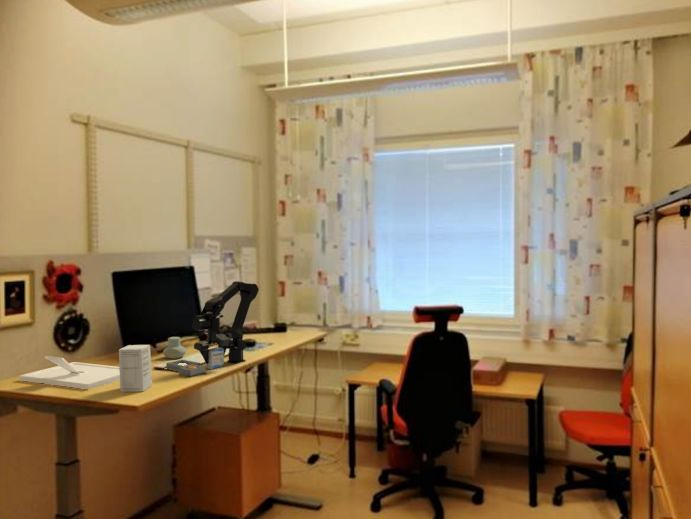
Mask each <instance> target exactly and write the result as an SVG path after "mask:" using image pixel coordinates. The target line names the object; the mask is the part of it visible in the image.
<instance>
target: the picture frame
mask: <svg viewBox="0 0 691 519" xmlns="http://www.w3.org/2000/svg"><path fill="white" fill-rule="evenodd" d="M44 359H46V360H48V361H49V362H51V363H53V364H56V366H52V367H48V368H44V369H41V370H40V369H39V370H35V371H32V372H28V373H24V374H20V375H19V382H22V381H30V382H38V383H45V384H52V385H51V386H53V385H60V386H67V387H66V388H68V387H75V388H83V389H91V388H94V387H97V386H100V387H102V386H101V385H103V386H105V385H104V384H107V385H109V384H108V383H110V384H113V383H116V382H120V381H119V380H120V370H119V366H116V365H106V364H96V363H95V364H94V363H88V362H87V363H86V362H79V361H73V362H68V361H67V360H66V359H65V358H64V357H62V356H52V355H45V356H44ZM30 382H29V383H30ZM112 382H113V383H112ZM45 384H44V385H45ZM60 386H59V387H60ZM75 388H74V389H75ZM97 388H98V387H97ZM83 389H82V390H83ZM94 389H95V388H94ZM91 390H92V389H91Z"/></svg>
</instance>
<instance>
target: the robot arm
mask: <svg viewBox="0 0 691 519" xmlns="http://www.w3.org/2000/svg"><path fill="white" fill-rule="evenodd" d="M238 293H239V297H240V302H239V304H238V308H237V311H236V313H235V316H234V319H233V322H232V325H231V327H230V328H226V329H225V333H224V334H223V330H222V329H221V318H223V317H224V315H223V314H222V313H221V312H222V311H223V309H225V305H226V304H227V303H228V302H229V301H230V300H231V299H233V297H234V296H236V295H237V294H238ZM258 293H259V287H258V285H257V284H256V283H247V282H243V281H240V280H239V281H238V280H235V281H233V282H232V284H230V285H229V286H228V287H226V289H224V290H223V291H222V292H221V293H219V295H217V296H215V297H212V298H210V299H208V300H206V301H205V303H204V306H203V308H202V310H201V312H200V314H199V315H195V317H194V318H193V320H192V323H191V327H192V329H193V331H195V332H201V331H205V334H206V335H207V337H206V339H205V341H196V342H195V343H194V345H193V349H194V350H197V351H199V353H200V354H201V356H202V358H203V360H204V363H205V362H206V364H208V362H209V354H208V353H209V351H210V349H211V348H210V347H212V346H217V347H221V348H224V356H225V354H226V351H227V349H228V360H226V362H228V363H233V364H238V363H242V362H246V359H244V350H246V349H247V346H248V345H247V343H246V342H245V341H244V339H243V338H244V334H243V327H244V324H245V321H246V319H247V315H248V311H249V309H250V306H251V303H252V302H253V301H254V300H255V299H256V297H257V295H258Z"/></svg>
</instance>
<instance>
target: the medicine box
mask: <svg viewBox="0 0 691 519" xmlns="http://www.w3.org/2000/svg"><path fill="white" fill-rule="evenodd" d="M209 349H210V351H209V353H208V354H209V362H208V364H206V362H205V361H204V367H206V370H215V369H219V368H222V367H224V366H225V355H224V348H221V347H218V346H217V347H213V348H209Z"/></svg>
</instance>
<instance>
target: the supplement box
mask: <svg viewBox="0 0 691 519" xmlns="http://www.w3.org/2000/svg"><path fill="white" fill-rule="evenodd" d="M151 356H152V355H151V345H150V344H133V345H132V344H128V345H126V346H124V347H122V348H120V349H118V360H119V361H118V364H119V365H118V367H119V370H120V381H119V388H120V389H119V391H120V392H121V393H123V392H125V393H126V392H127V393H129V392H130V393H131V392H134V393H135V392H138V393H139V392H144V391H147V390H148V389H149V388H150V387H152V386H153V382H152V381H153V380H152V379H153V378H152V361H151V360H152V358H151Z"/></svg>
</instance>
